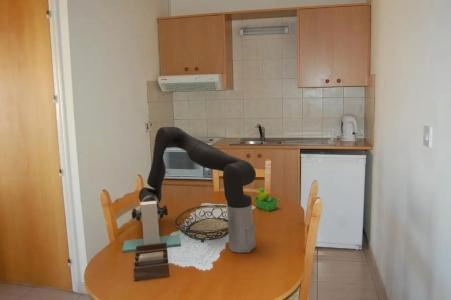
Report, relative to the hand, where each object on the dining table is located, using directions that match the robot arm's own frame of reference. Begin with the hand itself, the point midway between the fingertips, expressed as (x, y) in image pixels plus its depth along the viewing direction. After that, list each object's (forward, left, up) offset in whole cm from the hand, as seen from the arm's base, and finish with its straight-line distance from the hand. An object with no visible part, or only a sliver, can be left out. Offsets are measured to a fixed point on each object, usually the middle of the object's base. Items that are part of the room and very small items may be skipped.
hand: (149, 217), depth 145 cm
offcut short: (-10, +12, -12) cm, 20 cm away
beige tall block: (+1, -1, -11) cm, 11 cm away
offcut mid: (-13, +15, -12) cm, 23 cm away
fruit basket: (-21, -63, -13) cm, 68 cm away
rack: (-11, +13, -13) cm, 21 cm away
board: (+1, -1, -13) cm, 13 cm away
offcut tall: (-15, +18, -12) cm, 27 cm away
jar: (-17, -39, -13) cm, 44 cm away
